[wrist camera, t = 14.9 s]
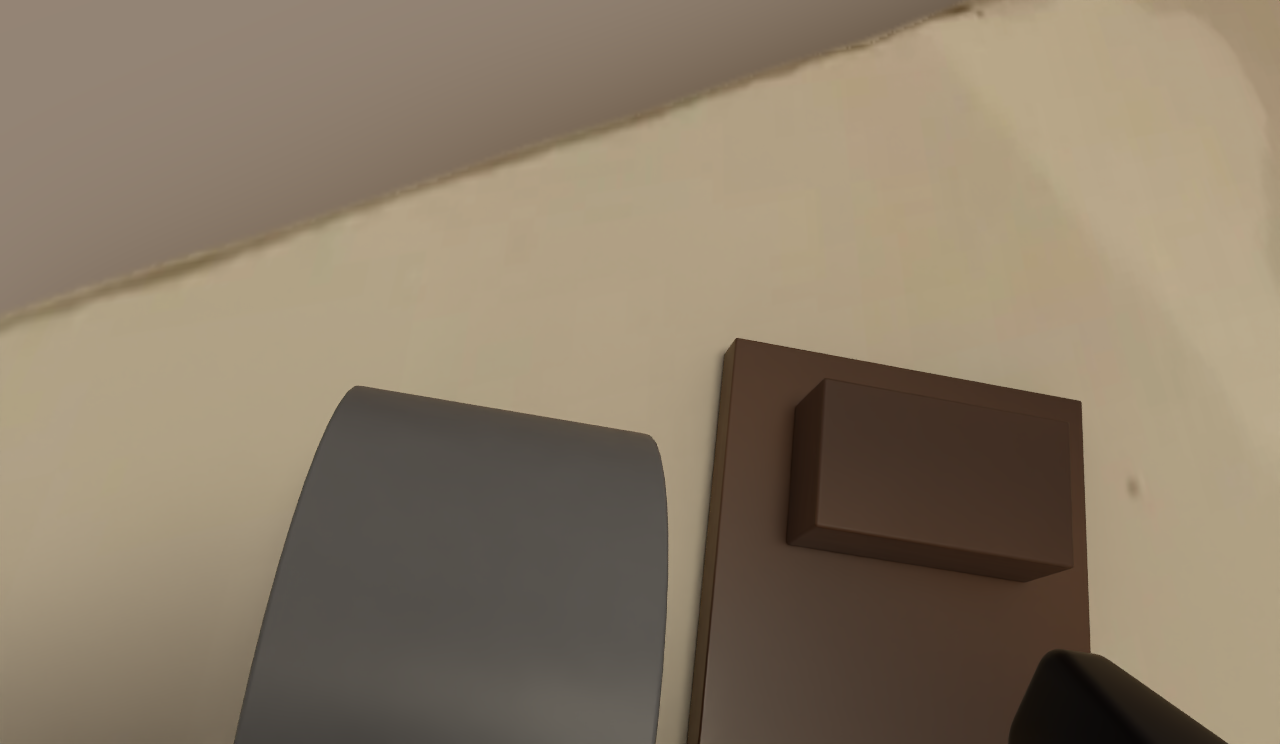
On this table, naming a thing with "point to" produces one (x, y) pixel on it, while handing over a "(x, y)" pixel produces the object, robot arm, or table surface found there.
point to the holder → (883, 553)
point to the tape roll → (466, 583)
